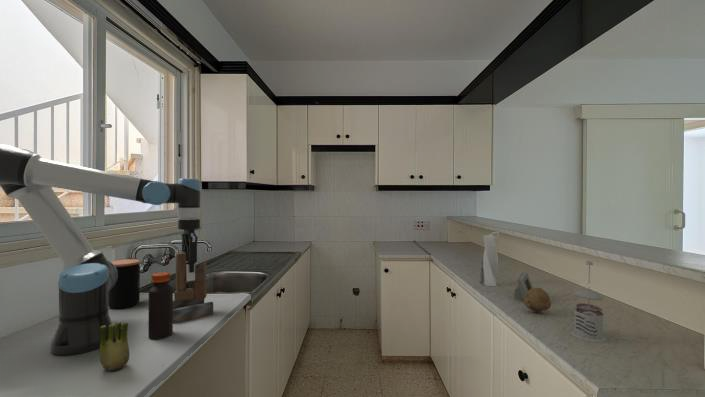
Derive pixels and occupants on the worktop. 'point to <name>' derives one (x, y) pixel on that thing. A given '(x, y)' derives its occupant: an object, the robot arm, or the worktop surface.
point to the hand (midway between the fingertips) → (189, 279)
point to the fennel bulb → (114, 347)
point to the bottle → (160, 307)
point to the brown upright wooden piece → (181, 281)
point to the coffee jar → (125, 285)
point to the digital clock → (522, 287)
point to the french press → (588, 316)
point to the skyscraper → (489, 261)
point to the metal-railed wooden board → (191, 309)
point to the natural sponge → (537, 300)
